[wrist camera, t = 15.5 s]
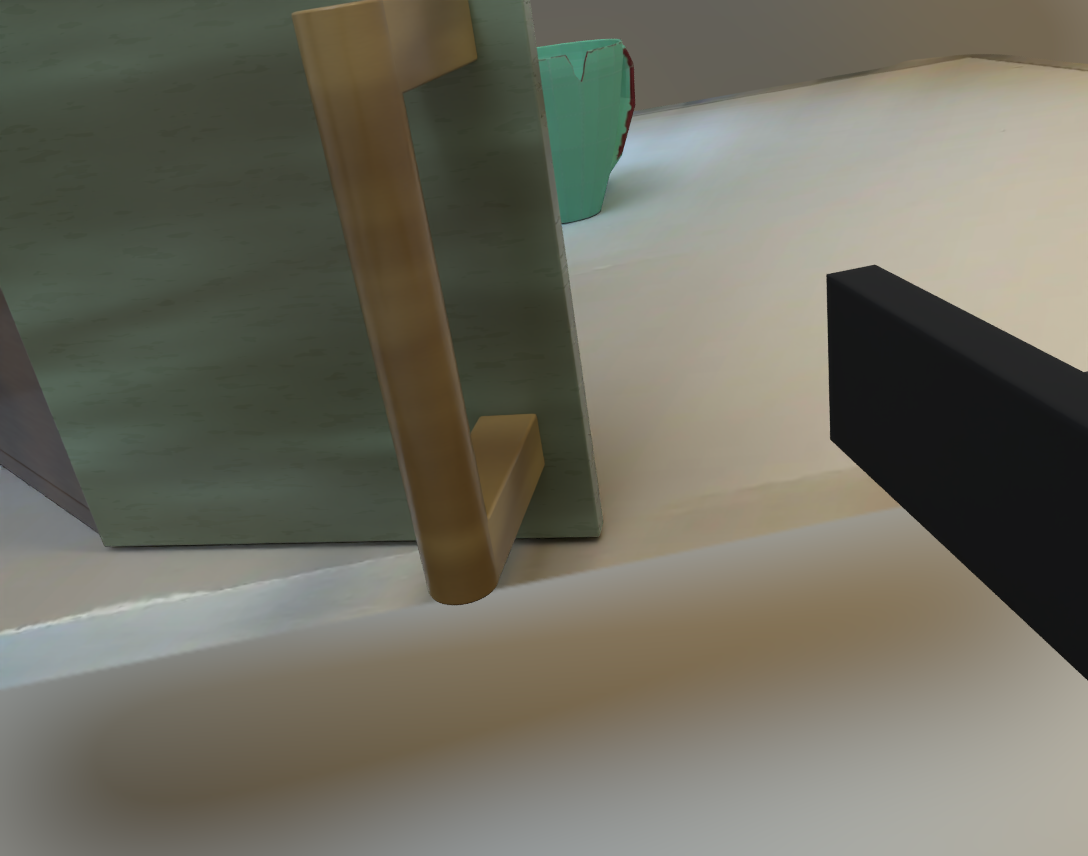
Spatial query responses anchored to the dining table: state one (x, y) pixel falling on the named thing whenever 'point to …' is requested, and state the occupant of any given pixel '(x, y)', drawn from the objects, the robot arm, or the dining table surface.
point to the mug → (586, 118)
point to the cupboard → (33, 427)
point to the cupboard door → (297, 273)
